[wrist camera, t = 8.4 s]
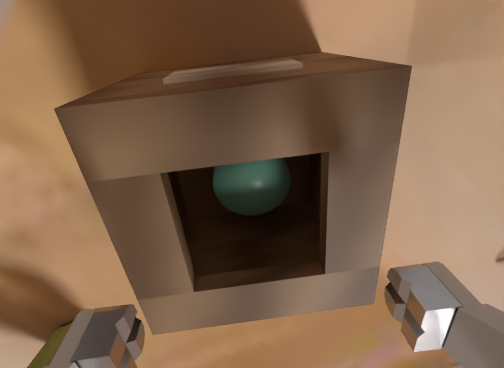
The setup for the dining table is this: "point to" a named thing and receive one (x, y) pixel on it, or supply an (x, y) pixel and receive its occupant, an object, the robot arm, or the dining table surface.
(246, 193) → the teal rounded cylinder
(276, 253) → the ticket box
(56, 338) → the plant pot
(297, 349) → the dining table surface
